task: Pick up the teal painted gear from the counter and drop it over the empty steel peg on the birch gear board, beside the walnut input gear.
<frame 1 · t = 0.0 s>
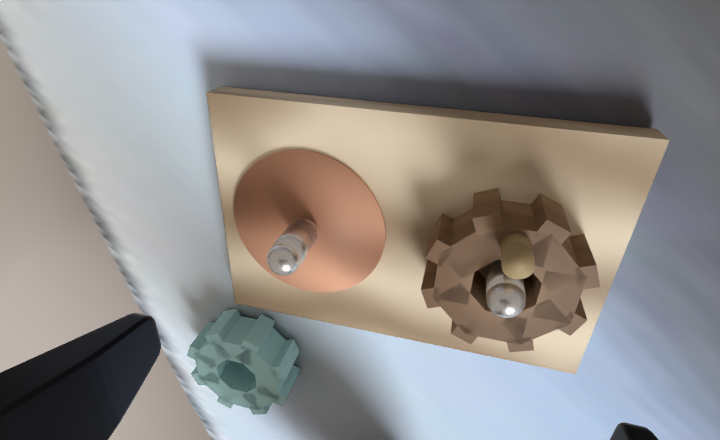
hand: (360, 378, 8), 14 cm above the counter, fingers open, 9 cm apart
input gear: (502, 257, 21), resting on gear board
loose gear: (253, 349, 31), on the counter
gear board: (405, 226, 23), on the counter
steel pegs: (393, 262, 20), on the gear board, point 4 cm above the counter
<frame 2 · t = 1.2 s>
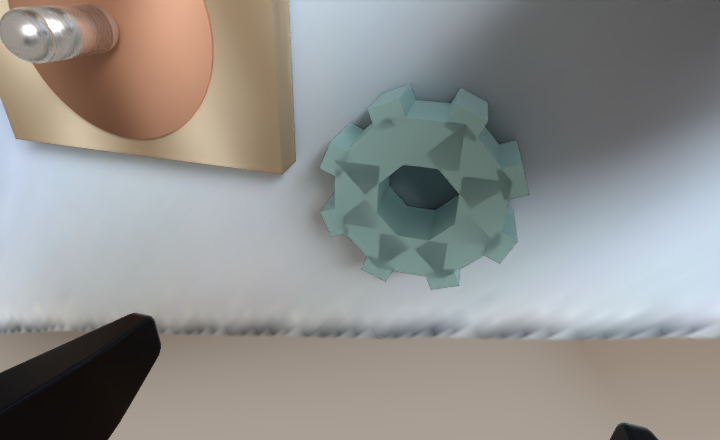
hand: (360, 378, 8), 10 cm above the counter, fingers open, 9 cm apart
loose gear: (424, 177, 17), on the counter
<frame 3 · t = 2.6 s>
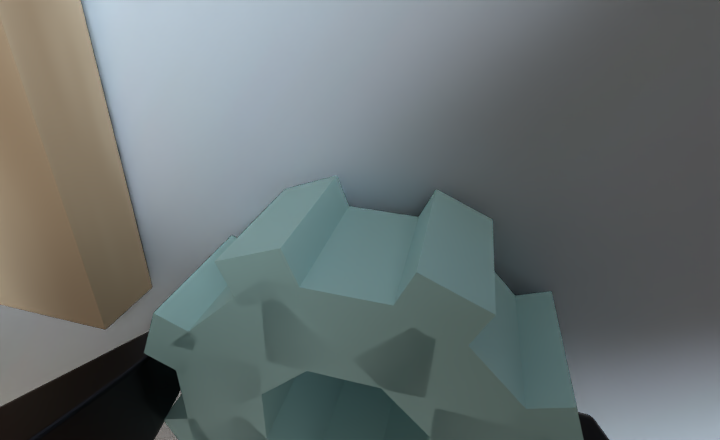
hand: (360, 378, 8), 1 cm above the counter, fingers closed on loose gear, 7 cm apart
loose gear: (374, 333, 9), on the counter, touching gripper
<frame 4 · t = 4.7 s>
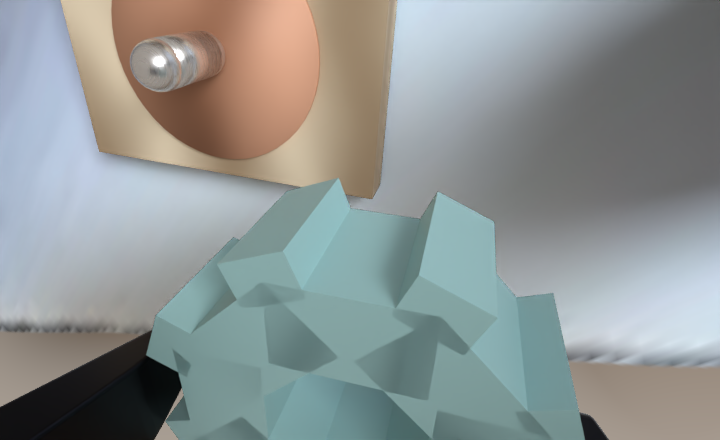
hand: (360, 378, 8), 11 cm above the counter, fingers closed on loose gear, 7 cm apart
loose gear: (376, 335, 9), point 10 cm above the counter, touching gripper
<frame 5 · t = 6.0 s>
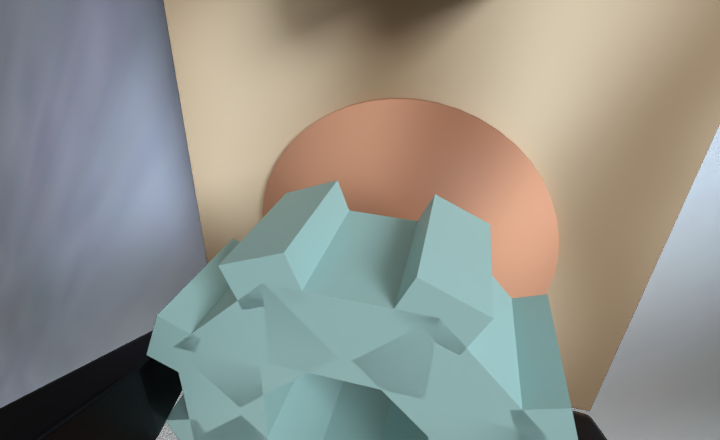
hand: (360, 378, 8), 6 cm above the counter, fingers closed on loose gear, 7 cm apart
loose gear: (373, 335, 9), point 5 cm above the counter, touching gripper
gear board: (424, 54, 11), on the counter
when the fingers open (4 cm above the counter, at t = 7.0 s): loose gear stays where it is, resting on gear board.
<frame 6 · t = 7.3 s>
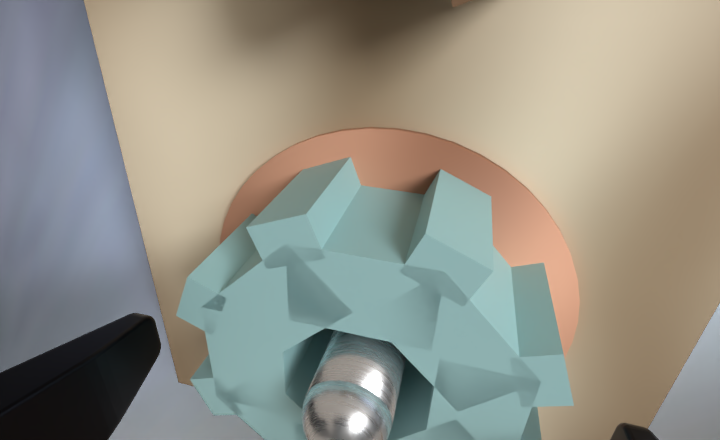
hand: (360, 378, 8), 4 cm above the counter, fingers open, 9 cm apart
loose gear: (381, 305, 10), point 2 cm above the counter, touching gear board
gear board: (412, 71, 9), on the counter
steel pegs: (377, 113, 6), on the gear board, point 4 cm above the counter
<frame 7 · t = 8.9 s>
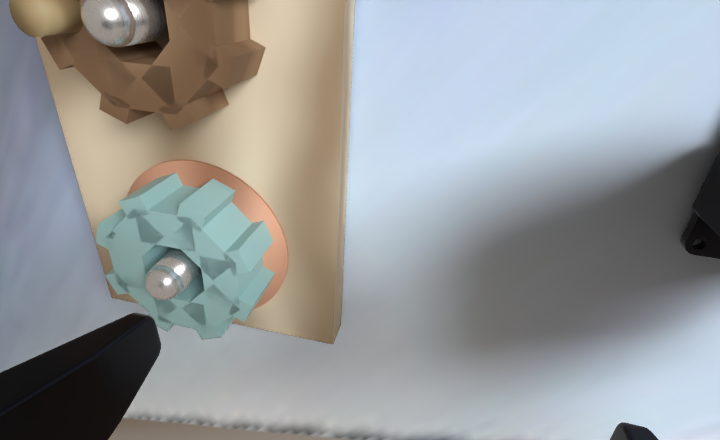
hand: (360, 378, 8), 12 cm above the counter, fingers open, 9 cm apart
input gear: (173, 13, 16), resting on gear board
loose gear: (204, 244, 21), point 2 cm above the counter, touching gear board
gear board: (210, 132, 20), on the counter
steel pegs: (163, 159, 17), on the gear board, point 4 cm above the counter
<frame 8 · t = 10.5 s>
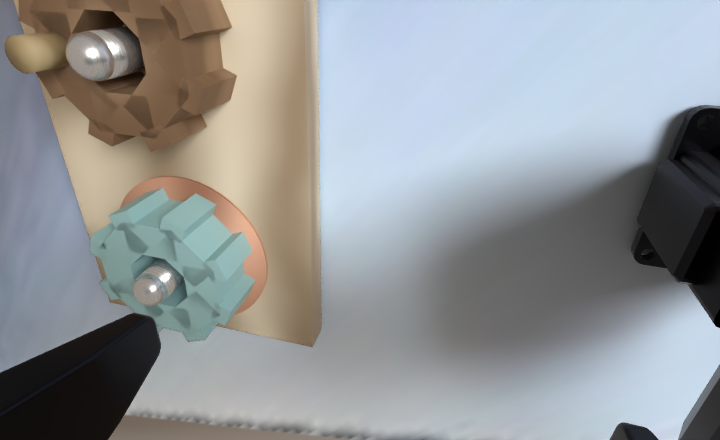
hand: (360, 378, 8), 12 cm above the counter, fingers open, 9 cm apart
input gear: (154, 45, 17), resting on gear board
loose gear: (190, 253, 22), point 2 cm above the counter, touching gear board
gear board: (194, 150, 21), on the counter
steel pegs: (147, 177, 18), on the gear board, point 4 cm above the counter
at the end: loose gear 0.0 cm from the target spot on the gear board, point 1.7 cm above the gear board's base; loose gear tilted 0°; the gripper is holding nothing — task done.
